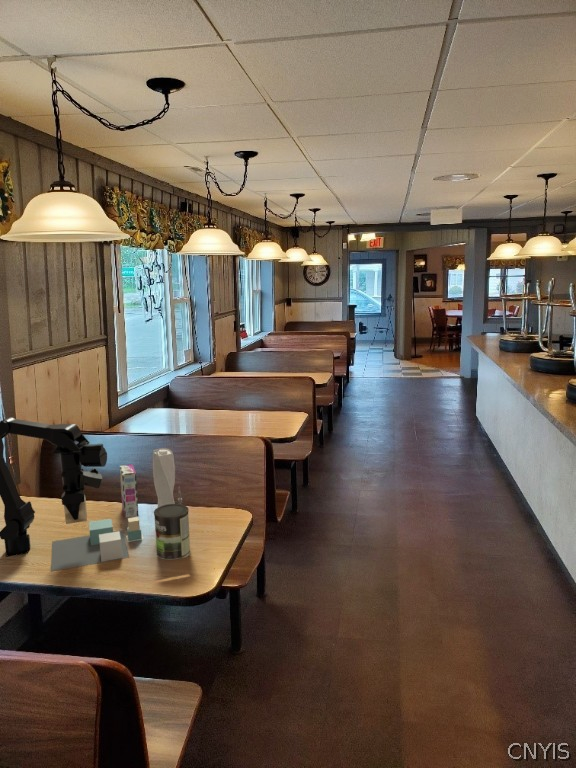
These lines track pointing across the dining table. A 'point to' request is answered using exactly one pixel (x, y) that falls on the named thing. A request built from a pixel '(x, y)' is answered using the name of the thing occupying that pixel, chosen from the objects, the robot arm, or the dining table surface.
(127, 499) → the candy bar box
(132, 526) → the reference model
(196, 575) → the dining table surface
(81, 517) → the oak cube
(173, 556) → the coffee can
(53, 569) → the charcoal mat
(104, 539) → the grey cube
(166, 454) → the skyscraper
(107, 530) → the teal block
